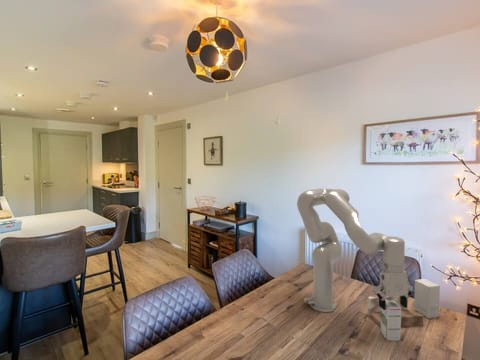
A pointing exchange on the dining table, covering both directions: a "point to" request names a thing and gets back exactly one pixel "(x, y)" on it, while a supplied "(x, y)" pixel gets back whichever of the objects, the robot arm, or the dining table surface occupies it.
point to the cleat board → (406, 315)
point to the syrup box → (391, 321)
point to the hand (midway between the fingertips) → (393, 307)
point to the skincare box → (427, 298)
